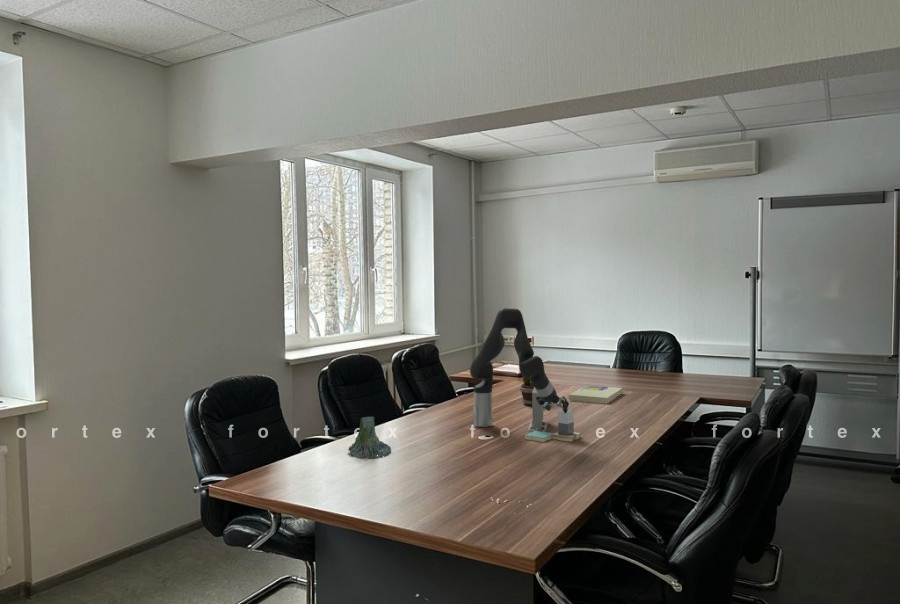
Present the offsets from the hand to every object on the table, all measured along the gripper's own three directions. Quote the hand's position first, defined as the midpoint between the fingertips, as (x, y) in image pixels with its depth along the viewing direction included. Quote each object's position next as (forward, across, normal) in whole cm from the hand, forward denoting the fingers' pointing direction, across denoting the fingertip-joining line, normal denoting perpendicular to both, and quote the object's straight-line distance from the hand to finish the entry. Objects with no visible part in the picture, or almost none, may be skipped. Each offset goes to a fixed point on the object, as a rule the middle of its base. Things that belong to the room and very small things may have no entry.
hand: (557, 410), depth 291 cm
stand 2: (+16, 0, +5) cm, 16 cm away
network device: (+24, +22, -3) cm, 33 cm away
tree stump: (-33, +61, +54) cm, 87 cm away
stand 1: (+11, +10, +10) cm, 18 cm away
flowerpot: (+58, +52, -37) cm, 86 cm away
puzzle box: (+86, +30, -64) cm, 112 cm away
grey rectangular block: (+14, 0, +3) cm, 15 cm away
